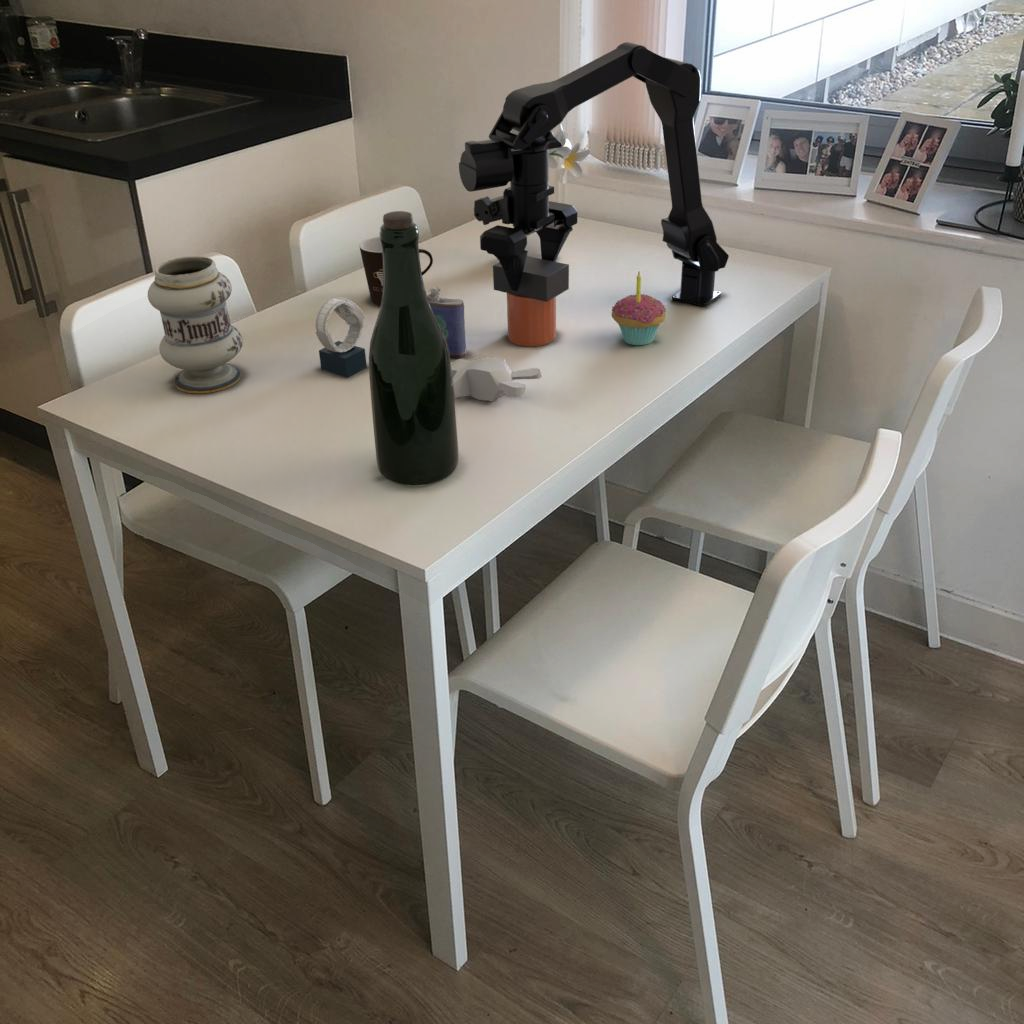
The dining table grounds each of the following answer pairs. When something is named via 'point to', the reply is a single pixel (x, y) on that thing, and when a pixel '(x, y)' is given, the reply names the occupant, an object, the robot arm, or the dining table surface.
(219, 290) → the apothecary jar
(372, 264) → the coffee mug
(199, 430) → the dining table surface
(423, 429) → the green wine bottle
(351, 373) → the watch
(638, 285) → the cupcake
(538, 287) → the black bar
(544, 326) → the terracotta cup
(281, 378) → the dining table surface
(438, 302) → the flask
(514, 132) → the flower vase
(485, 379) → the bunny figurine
